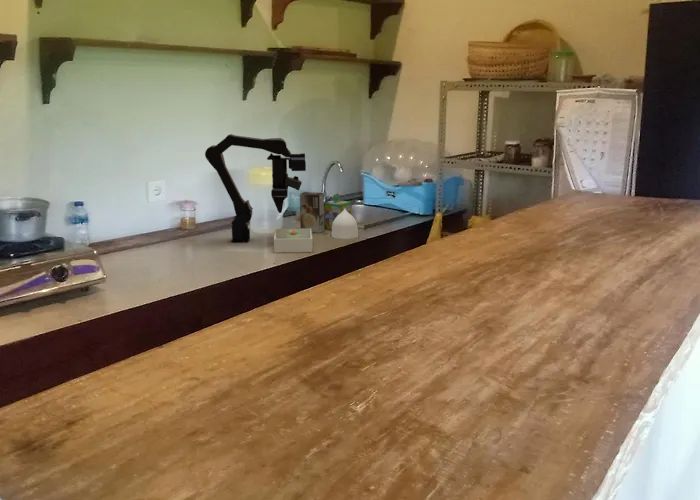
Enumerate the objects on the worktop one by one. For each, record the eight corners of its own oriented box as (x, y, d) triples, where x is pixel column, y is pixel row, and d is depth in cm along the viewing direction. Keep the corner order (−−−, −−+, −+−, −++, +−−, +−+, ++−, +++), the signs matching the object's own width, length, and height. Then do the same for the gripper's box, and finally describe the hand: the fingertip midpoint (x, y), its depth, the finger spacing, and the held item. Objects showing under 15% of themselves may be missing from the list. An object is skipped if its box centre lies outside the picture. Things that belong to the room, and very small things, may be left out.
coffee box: (325, 229, 290) (325, 192, 286) (320, 233, 284) (320, 195, 280) (305, 228, 292) (304, 191, 288) (299, 231, 286) (299, 193, 282)
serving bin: (274, 252, 252) (273, 239, 251) (275, 241, 269) (275, 228, 268) (312, 252, 254) (312, 238, 252) (311, 241, 270) (311, 228, 269)
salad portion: (286, 246, 258) (286, 232, 257) (286, 243, 263) (286, 229, 262) (300, 246, 259) (300, 231, 257) (300, 243, 264) (299, 228, 262)
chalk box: (341, 231, 287) (341, 197, 283) (323, 229, 291) (323, 195, 287) (352, 227, 294) (352, 193, 291) (334, 225, 299) (334, 192, 295)
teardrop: (353, 232, 286) (353, 204, 283) (361, 238, 276) (362, 209, 273) (328, 233, 283) (328, 205, 280) (335, 240, 273) (335, 210, 270)
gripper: (300, 174, 256) (301, 215, 260) (300, 167, 274) (300, 205, 278) (270, 174, 255) (271, 215, 259) (272, 167, 273) (273, 206, 277)
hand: (280, 210), depth 268 cm, fingers open, 9 cm apart
